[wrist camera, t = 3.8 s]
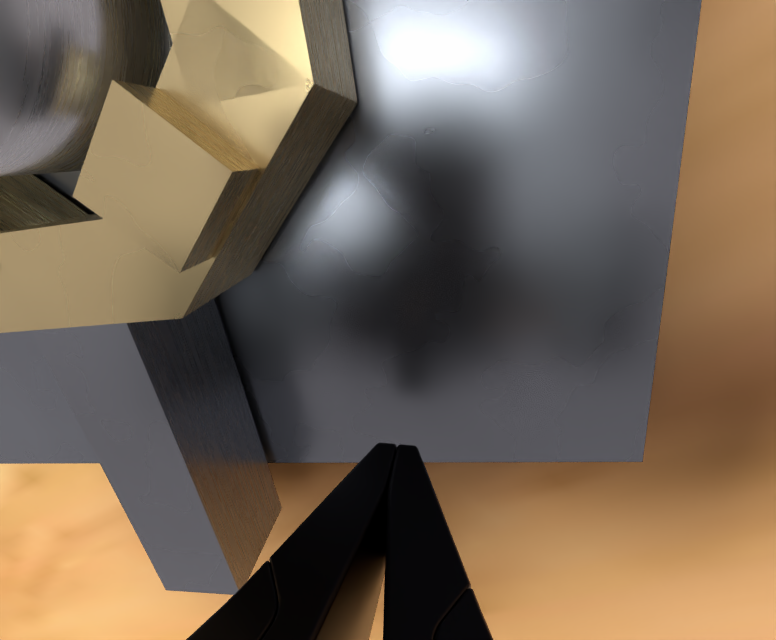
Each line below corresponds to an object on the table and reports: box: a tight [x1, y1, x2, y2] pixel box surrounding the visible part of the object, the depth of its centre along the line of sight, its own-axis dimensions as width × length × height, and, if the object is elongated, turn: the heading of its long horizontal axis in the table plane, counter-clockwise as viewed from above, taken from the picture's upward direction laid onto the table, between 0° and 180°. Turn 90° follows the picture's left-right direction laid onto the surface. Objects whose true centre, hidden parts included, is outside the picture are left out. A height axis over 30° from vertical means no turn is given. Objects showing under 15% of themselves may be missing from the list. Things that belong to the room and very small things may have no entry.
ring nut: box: [0, 0, 357, 595], centre depth 7 cm, size 17×10×3 cm, turn 8°
